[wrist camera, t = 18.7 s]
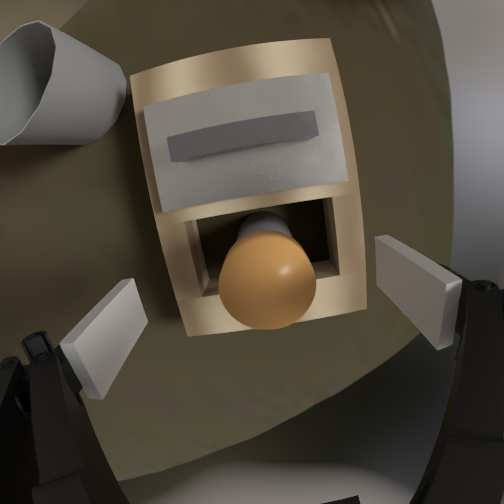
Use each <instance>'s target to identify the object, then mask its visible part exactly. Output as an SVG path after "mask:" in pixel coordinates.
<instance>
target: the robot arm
mask: <svg viewBox="0 0 504 504" xmlns="http://www.w3.org/2000/svg"><path fill="white" fill-rule="evenodd" d="M375 250H376V279H377V286H378V287H379V288H380V289H381V290H382V291H383V292H384V293H385V294H386V295H387V296H388V297H389V298H390V299H391V300H392V301H393V302H394V303H395V304H396V305H397V307H398V308H399V309H400V310H401V311H402V312H403V313H404V314H405V315H406V316H407V317H408V318H409V319H410V320H411V322H412V323H413V324H414V325H415V326H416V327H417V328H418V329H419V330H420V331H421V333H422V334H423V335H424V336H425V337H426V338H427V339H428V340H429V341H430V343H431V344H432V345H433V346H434V347H435V348H436V349H437V350H440V349H442V348H445V347H447V346H450V345H452V344H453V339H454V334H455V331H456V332H457V333H458V334H459V335H460V336H461V337H460V341H459V346H458V350H457V355H456V359H455V360H456V364H455V370H454V375H453V380H452V384H451V389H450V393H449V398H448V401H447V405H446V409H445V413H444V416H443V420H442V423H441V427H440V430H439V434H438V436H437V439H436V442H435V445H434V448H433V451H432V454H431V456H430V459H429V462H428V464H427V467H426V469H425V472H424V474H423V477H422V479H421V481H420V484H419V486H418V488H417V490H416V492H415V494H414V496H413V498H412V500H411V501H410V503H409V504H500V502H501V498H502V494H503V490H504V438H503V437H504V436H503V434H504V289H502V290H499V287H498V285H496V284H495V283H493V282H491V281H487V280H475V281H472V282H471V281H469V280H468V279H466V278H464V277H463V276H461V275H460V274H458V273H457V272H455V271H452V269H450V268H449V267H447V266H445V265H441V264H438V263H435V262H433V261H432V260H430V259H429V258H427V257H425V256H424V255H422V254H420V253H418V252H417V251H415V250H413V249H412V248H410V247H408V246H406V245H405V244H403V243H401V242H399V241H398V240H396V239H394V238H392V237H391V236H389V235H383V236H377V237H375ZM147 323H148V320H147V318H146V315H145V312H144V309H143V306H142V303H141V300H140V297H139V294H138V291H137V288H136V284H135V281H134V278H130V279H124V280H121V281H120V282H119V283H118V284H117V285H116V286H115V287H114V288H113V289H112V290H111V291H110V292H109V293H108V294H107V295H106V296H105V297H104V298H103V299H102V300H101V301H100V302H99V303H98V304H97V305H96V306H95V307H94V308H93V309H92V310H91V311H90V312H89V313H88V314H87V315H86V316H85V317H84V318H83V319H82V320H81V321H80V322H79V323H78V324H77V325H76V326H75V327H74V328H73V329H72V330H71V331H70V332H69V333H68V335H67V336H66V337H65V338H64V339H63V340H62V341H61V342H60V343H59V345H58V346H57V347H56V349H54V347H53V345H52V343H51V341H50V339H49V337H48V334H47V332H46V331H38V332H35V333H33V334H31V335H29V336H27V337H26V338H25V339H24V340H23V341H22V343H21V345H22V347H23V349H24V351H25V353H26V355H27V357H28V359H29V361H30V364H29V365H24V366H22V364H21V362H20V360H19V358H18V357H17V356H12V357H7V358H5V359H3V360H2V362H1V363H0V504H129V502H128V500H127V498H126V497H125V495H124V493H123V491H122V489H121V487H120V486H119V484H118V482H117V480H116V478H115V476H114V474H113V472H112V470H111V468H110V466H109V464H108V462H107V459H106V457H105V455H104V453H103V451H102V448H101V446H100V444H99V441H98V439H97V437H96V434H95V432H94V429H93V427H92V424H91V421H90V419H89V416H88V413H87V411H86V408H85V405H84V402H83V400H82V398H81V396H80V395H79V392H80V391H81V389H82V388H83V389H84V391H85V393H86V394H87V396H88V398H90V399H104V397H105V395H106V393H107V392H108V390H109V388H110V386H111V384H112V383H113V381H114V379H115V377H116V376H117V374H118V372H119V370H120V369H121V367H122V365H123V363H124V362H125V360H126V358H127V356H128V355H129V353H130V351H131V350H132V348H133V346H134V345H135V343H136V341H137V340H138V338H139V336H140V335H141V333H142V331H143V330H144V328H145V326H146V325H147ZM323 504H360V501H359V497H358V495H357V496H353V497H349V498H345V499H342V500H337V501H332V502H328V503H323Z"/></svg>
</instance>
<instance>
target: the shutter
mask: <svg viewBox="0 0 504 504" xmlns="http://www.w3.org/2000/svg"><path fill="white" fill-rule="evenodd" d="M143 109H144V116H145V122H146V129H147V135H148V140H149V146H150V152H151V157H152V163H153V168H154V173H155V178H156V183H157V188H158V193H159V197H160V202H161V207H162V211H163V212H168V211H173V210H178V209H182V208H187V207H192V206H197V205H202V204H207V203H212V202H218V201H223V200H228V199H234V198H239V197H245V196H251V195H257V194H263V193H269V192H275V191H281V190H287V189H294V188H301V187H307V186H314V185H321V184H329V183H336V182H344V181H348V176H347V169H346V162H345V155H344V149H343V143H342V137H341V131H340V125H339V120H338V115H337V110H336V105H335V100H334V95H333V91H332V86H331V82H330V77H329V73H317V74H304V75H294V76H284V77H276V78H269V79H262V80H255V81H249V82H243V83H237V84H232V85H227V86H222V87H217V88H212V89H208V90H203V91H199V92H195V93H191V94H187V95H183V96H179V97H176V98H172V99H168V100H165V101H161V102H158V103H155V104H151V105H148V106H145V107H143Z"/></svg>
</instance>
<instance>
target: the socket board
mask: <svg viewBox="0 0 504 504" xmlns="http://www.w3.org/2000/svg"><path fill="white" fill-rule="evenodd" d="M317 73H329V77H330V82H331V86H332V91H333V95H334V100H335V105H336V110H337V115H338V120H339V125H340V131H341V137H342V143H343V149H344V155H345V162H346V169H347V176H348V181H344V182H336V183H329V184H321V185H314V186H307V187H301V188H294V189H287V190H281V191H275V192H269V193H263V194H257V195H251V196H245V197H239V198H234V199H228V200H223V201H218V202H212V203H207V204H202V205H197V206H192V207H187V208H182V209H178V210H173V211H168V212H163V211H162V207H161V202H160V197H159V193H158V188H157V183H156V178H155V173H154V168H153V163H152V157H151V152H150V146H149V140H148V135H147V129H146V122H145V116H144V109H143V107H145V106H148V105H151V104H155V103H158V102H161V101H165V100H168V99H172V98H176V97H179V96H183V95H187V94H191V93H195V92H199V91H203V90H208V89H212V88H217V87H222V86H227V85H232V84H237V83H243V82H249V81H255V80H262V79H269V78H276V77H284V76H294V75H304V74H317ZM130 80H131V88H132V96H133V104H134V111H135V118H136V124H137V131H138V137H139V143H140V148H141V154H142V159H143V165H144V170H145V175H146V180H147V185H148V190H149V195H150V199H151V204H152V208H153V213H154V217H155V221H156V226H157V230H158V234H159V238H160V242H161V246H162V250H163V254H164V257H165V261H166V265H167V269H168V272H169V276H170V279H171V283H172V287H173V290H174V293H175V297H176V300H177V304H178V307H179V310H180V313H181V317H182V320H183V323H184V326H185V329H186V332H187V335H188V336H198V335H207V334H216V333H225V332H233V331H241V330H248V329H255V328H251V327H248V326H246V325H243V324H242V323H240V322H238V321H237V320H236V319H234V318H233V317H232V316H231V315H230V314H229V313H228V311H227V310H226V309H225V307H224V305H223V304H222V301H221V299H220V295H219V288H218V283H219V278H213V279H209V275H208V271H207V267H206V262H205V258H204V254H203V249H202V245H201V240H200V236H199V231H198V227H197V222H196V219H201V218H206V217H212V216H217V215H223V214H228V213H234V212H239V211H245V210H251V209H257V208H263V207H269V206H275V205H281V204H287V203H294V202H300V201H307V200H314V199H320V198H322V201H323V209H324V217H325V225H326V234H327V243H328V253H329V260H325V261H319V262H313V263H311V265H312V267H313V269H314V272H315V276H316V293H315V296H314V300H313V302H312V304H311V306H310V307H309V309H308V310H307V311H306V313H305V314H304V315H303V316H302V317H301V318H299V319H298V320H297V321H295V322H301V321H307V320H312V319H318V318H323V317H329V316H334V315H339V314H344V313H349V312H354V311H359V310H364V309H367V293H366V263H365V245H364V231H363V219H362V208H361V199H360V190H359V181H358V174H357V166H356V159H355V153H354V146H353V140H352V134H351V129H350V123H349V118H348V112H347V107H346V103H345V98H344V93H343V89H342V84H341V80H340V76H339V71H338V67H337V63H336V59H335V56H334V52H333V48H332V44H331V41H330V38H323V39H303V40H290V41H279V42H270V43H262V44H255V45H249V46H242V47H236V48H231V49H226V50H221V51H216V52H211V53H207V54H202V55H198V56H194V57H190V58H186V59H182V60H179V61H175V62H172V63H168V64H165V65H161V66H158V67H155V68H152V69H149V70H146V71H143V72H140V73H137V74H134V75H131V76H130ZM295 322H294V323H295Z"/></svg>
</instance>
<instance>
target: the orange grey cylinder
mask: <svg viewBox="0 0 504 504" xmlns="http://www.w3.org/2000/svg"><path fill="white" fill-rule="evenodd" d="M218 288H219V295H220V299H221V301H222V304H223V305H224V307H225V309H226V310H227V311H228V313H229V314H230V315H231V316H232V317H233V318H234V319H236V320H237V321H238V322H240V323H242V324H243V325H246V326H248V327H251V328H255V329H260V330H273V329H279V328H282V327H285V326H288V325H290V324H292V323H294V322H295V321H297V320H298V319H299V318H301V317H302V316H303V315H304V314H305V313H306V311H307V310H308V309H309V307H310V306H311V304H312V302H313V300H314V296H315V293H316V276H315V272H314V269H313V267H312V265H311V263H310V261H309V259H308V257H307V255H306V253H305V251H304V249H303V248H302V247H301V245H300V244H299V243H298V242H297V241H296V240H294V239H293V237H292V235H291V233H290V231H289V229H288V226H287V224H286V223H285V221H284V220H283V219H282V218H281V217H280V216H279V215H277V214H275V213H273V212H269V211H259V212H255V213H253V214H251V215H249V216H248V217H247V218H246V219H245V220H244V221H243V223H242V224H241V226H240V229H239V232H238V236H237V240H236V243H235V244H234V245H233V246H232V247H231V248H230V250H229V251H228V253H227V255H226V258H225V261H224V264H223V267H222V270H221V273H220V276H219V283H218Z"/></svg>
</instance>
